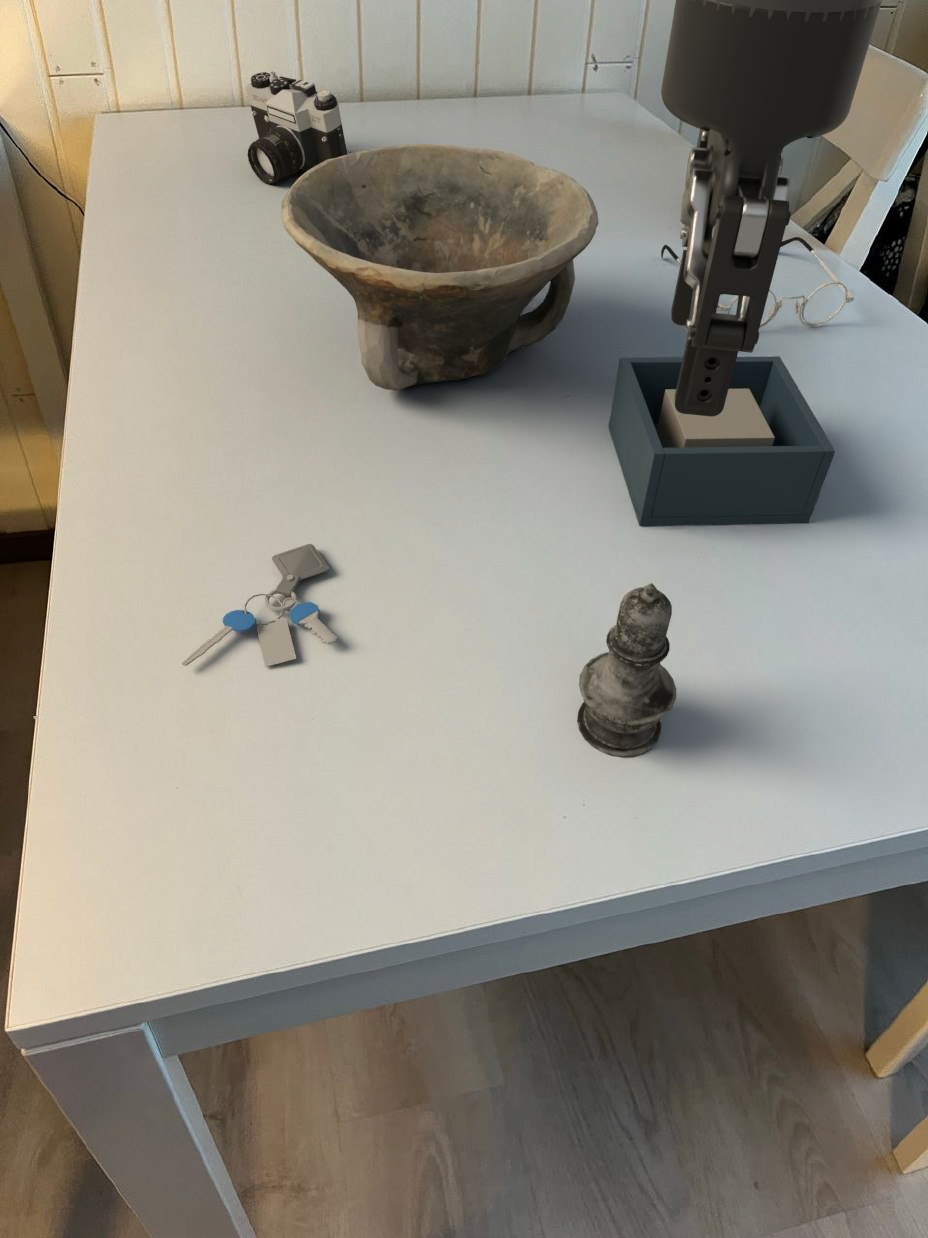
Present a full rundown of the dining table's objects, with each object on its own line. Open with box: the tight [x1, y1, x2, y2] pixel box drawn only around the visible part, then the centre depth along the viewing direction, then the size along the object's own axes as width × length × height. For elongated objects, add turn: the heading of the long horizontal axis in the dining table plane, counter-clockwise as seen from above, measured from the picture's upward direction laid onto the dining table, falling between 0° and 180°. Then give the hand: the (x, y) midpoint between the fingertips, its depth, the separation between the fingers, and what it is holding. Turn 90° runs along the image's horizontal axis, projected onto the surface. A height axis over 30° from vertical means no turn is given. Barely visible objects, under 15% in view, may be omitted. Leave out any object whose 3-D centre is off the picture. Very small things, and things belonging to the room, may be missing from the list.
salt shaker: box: [576, 583, 677, 758], centre depth 56 cm, size 6×6×12 cm
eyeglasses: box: [660, 236, 855, 330], centre depth 101 cm, size 16×19×5 cm
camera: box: [245, 71, 349, 185], centre depth 119 cm, size 15×11×10 cm
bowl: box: [280, 143, 599, 391], centre depth 86 cm, size 27×26×15 cm
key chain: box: [181, 543, 338, 668], centre depth 65 cm, size 14×8×1 cm, turn 157°
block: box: [657, 389, 775, 448], centre depth 77 cm, size 7×7×5 cm
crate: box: [607, 355, 836, 527], centre depth 77 cm, size 14×14×7 cm
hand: (693, 363), depth 47 cm, fingers open, 8 cm apart
